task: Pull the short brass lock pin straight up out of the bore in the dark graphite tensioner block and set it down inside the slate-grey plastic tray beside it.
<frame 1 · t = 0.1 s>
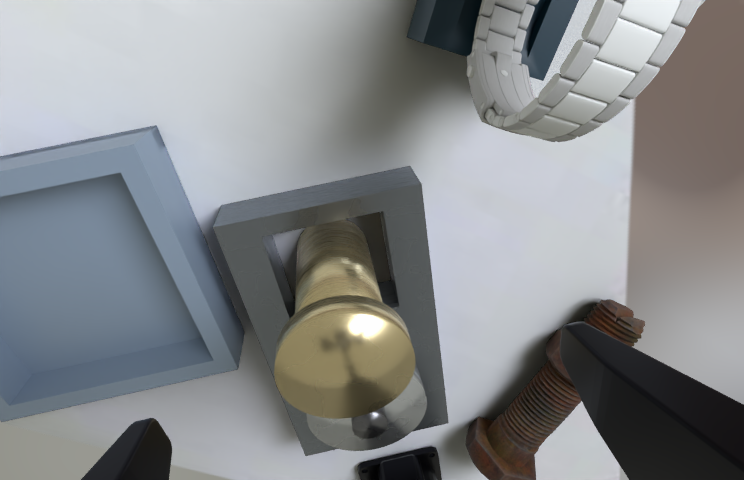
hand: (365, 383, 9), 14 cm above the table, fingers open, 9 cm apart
tray: (86, 269, 23), on the table
lock pin: (332, 249, 24), resting in tensioner block
tensioner block: (349, 316, 27), on the table
bolt: (538, 365, 32), on the table
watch: (477, 1, 19), on the table
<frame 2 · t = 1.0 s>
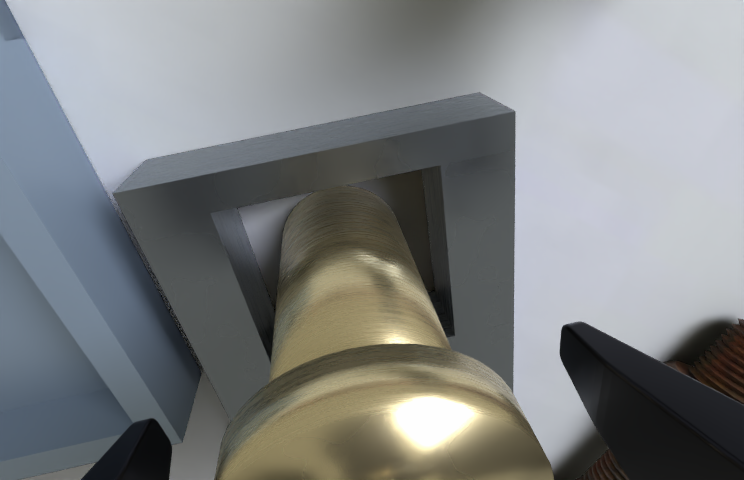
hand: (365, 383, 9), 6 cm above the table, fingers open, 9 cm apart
lock pin: (342, 240, 15), resting in tensioner block
tensioner block: (366, 346, 17), on the table
bolt: (628, 410, 22), on the table
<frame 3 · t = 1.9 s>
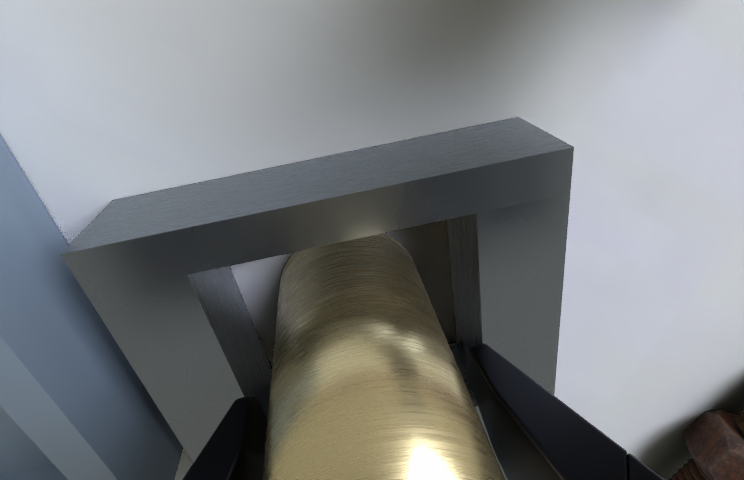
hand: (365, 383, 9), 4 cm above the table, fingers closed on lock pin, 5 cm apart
lock pin: (350, 288, 12), resting in tensioner block, touching gripper
tensioner block: (377, 402, 15), on the table
bolt: (662, 460, 20), on the table
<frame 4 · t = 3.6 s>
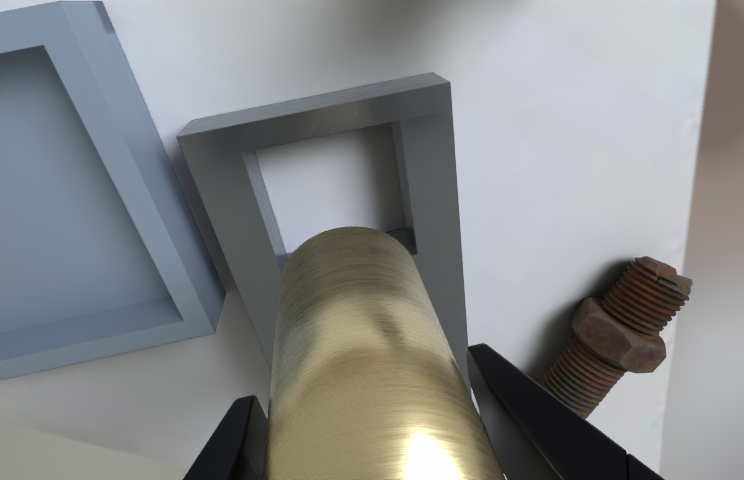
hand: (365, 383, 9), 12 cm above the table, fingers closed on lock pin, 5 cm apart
tray: (21, 204, 18), on the table
lock pin: (349, 287, 12), point 8 cm above the table, touching gripper
tensioner block: (354, 273, 22), on the table
bolt: (563, 342, 27), on the table
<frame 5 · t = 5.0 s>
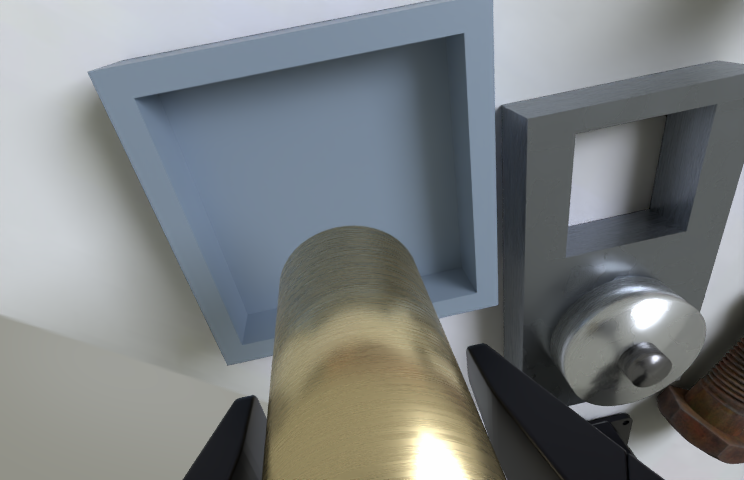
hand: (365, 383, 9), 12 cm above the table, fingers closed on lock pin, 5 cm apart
tray: (331, 184, 19), on the table
lock pin: (350, 287, 12), point 8 cm above the table, touching gripper
tensioner block: (591, 252, 23), on the table
bolt: (740, 322, 29), on the table
when the fingers open (6 cm above the table, at t = 6.3 s): lock pin drops 1 cm, resting on tray.
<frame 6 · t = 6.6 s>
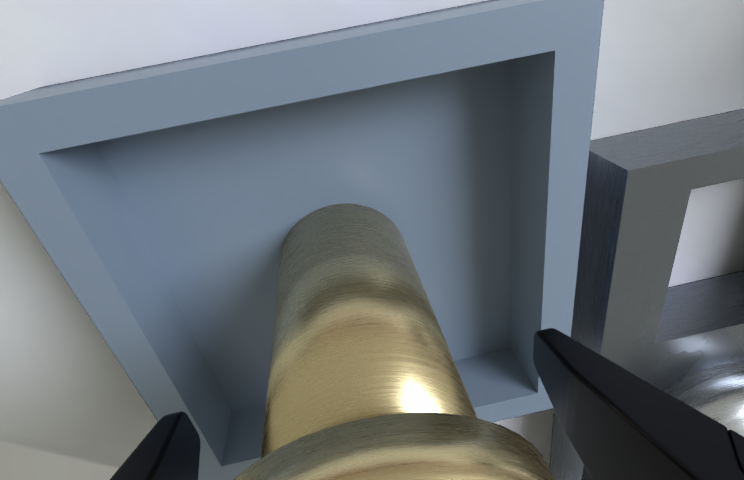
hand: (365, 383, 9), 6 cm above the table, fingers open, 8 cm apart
tray: (343, 248, 14), on the table
lock pin: (344, 260, 14), point 1 cm above the table, touching tray
tensioner block: (671, 322, 18), on the table
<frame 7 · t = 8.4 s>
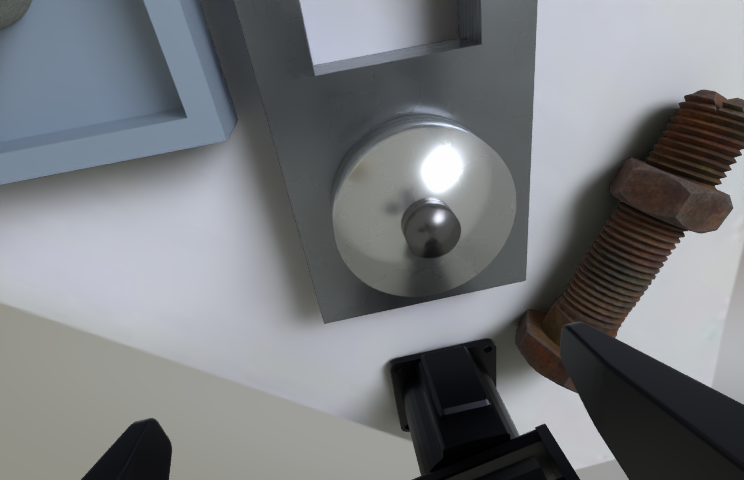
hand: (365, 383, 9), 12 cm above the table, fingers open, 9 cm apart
tensioner block: (393, 102, 18), on the table
bolt: (601, 225, 23), on the table
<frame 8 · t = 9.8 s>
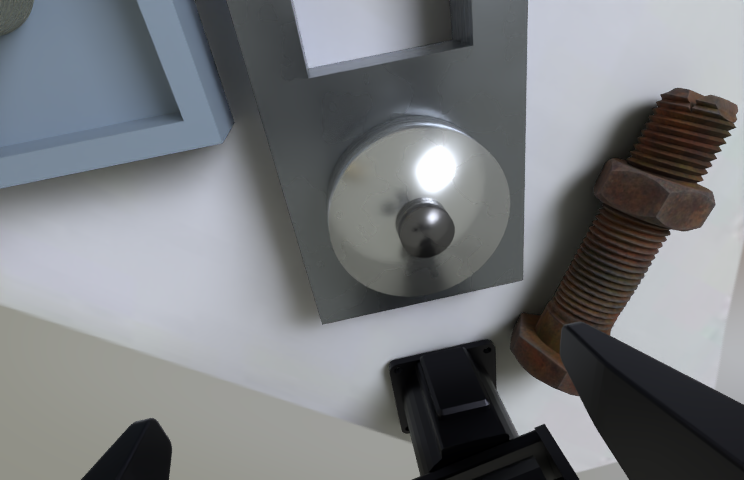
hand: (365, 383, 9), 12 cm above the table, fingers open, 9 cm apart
tensioner block: (387, 104, 18), on the table
bolt: (590, 226, 23), on the table
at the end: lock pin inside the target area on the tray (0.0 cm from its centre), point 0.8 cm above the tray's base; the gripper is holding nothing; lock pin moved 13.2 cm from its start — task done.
